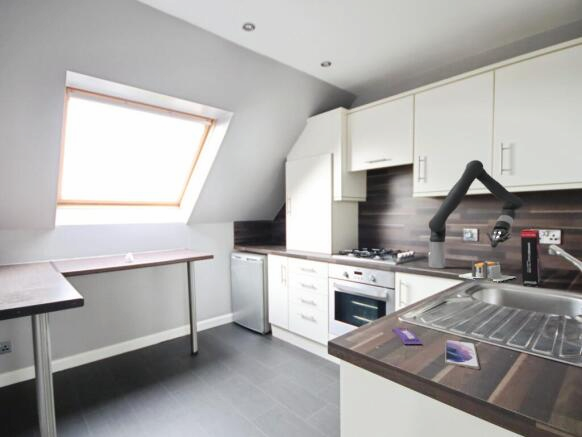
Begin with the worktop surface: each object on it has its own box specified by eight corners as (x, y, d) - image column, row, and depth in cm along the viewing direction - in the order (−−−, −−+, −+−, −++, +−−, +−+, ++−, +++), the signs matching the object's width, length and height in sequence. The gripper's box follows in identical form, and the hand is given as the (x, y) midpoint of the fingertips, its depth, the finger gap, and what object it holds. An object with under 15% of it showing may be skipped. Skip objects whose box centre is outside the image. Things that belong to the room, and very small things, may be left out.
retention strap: (489, 263, 176) (474, 266, 168) (489, 261, 176) (474, 263, 168) (496, 264, 173) (482, 267, 165) (496, 262, 173) (482, 264, 165)
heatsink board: (458, 276, 174) (458, 260, 174) (477, 273, 185) (477, 257, 185) (497, 283, 157) (497, 264, 157) (515, 278, 168) (515, 261, 168)
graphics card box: (538, 287, 146) (538, 230, 146) (520, 285, 151) (520, 230, 151) (540, 282, 159) (540, 229, 159) (524, 280, 164) (523, 229, 164)
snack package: (423, 340, 83) (404, 340, 83) (423, 347, 83) (404, 347, 83) (407, 325, 95) (391, 325, 95) (407, 331, 95) (391, 331, 95)
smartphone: (445, 362, 73) (445, 339, 86) (445, 365, 73) (445, 342, 86) (480, 367, 70) (475, 343, 83) (480, 371, 70) (475, 346, 83)
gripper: (489, 220, 185) (478, 241, 179) (514, 220, 174) (503, 243, 168) (493, 228, 188) (483, 249, 182) (518, 229, 177) (508, 252, 170)
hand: (493, 246), depth 175 cm, fingers closed
